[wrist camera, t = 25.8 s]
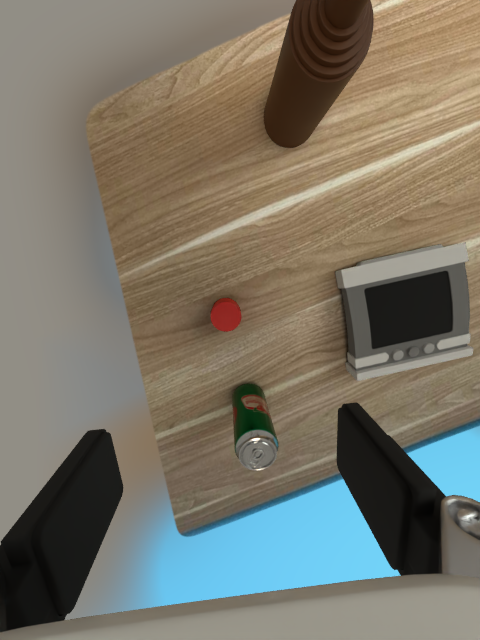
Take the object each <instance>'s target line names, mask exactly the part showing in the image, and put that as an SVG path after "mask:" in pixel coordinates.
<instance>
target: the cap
mask: <svg viewBox="0 0 480 640" xmlns="http://www.w3.org/2000/svg"><path fill="white" fill-rule="evenodd" d="M240 311H241V310H240V307H239V306H238V304H237V303H236V302H235V301H234V300H232V299H230V298H222V299H219V300H218V301H216V302H215V303H214V305H213V307H212V310H211V321H212V324H213V325H214V326H215V327H216V328H217V329H218V330H220V331H231V330H234V329H235V328H236V327H237V326H238V325H239V324H240V321H241V312H240Z"/></svg>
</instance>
